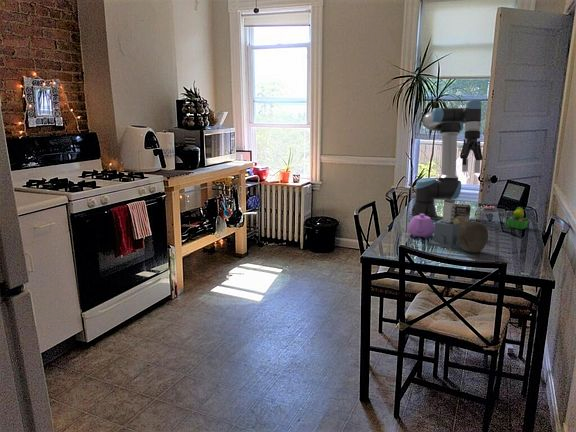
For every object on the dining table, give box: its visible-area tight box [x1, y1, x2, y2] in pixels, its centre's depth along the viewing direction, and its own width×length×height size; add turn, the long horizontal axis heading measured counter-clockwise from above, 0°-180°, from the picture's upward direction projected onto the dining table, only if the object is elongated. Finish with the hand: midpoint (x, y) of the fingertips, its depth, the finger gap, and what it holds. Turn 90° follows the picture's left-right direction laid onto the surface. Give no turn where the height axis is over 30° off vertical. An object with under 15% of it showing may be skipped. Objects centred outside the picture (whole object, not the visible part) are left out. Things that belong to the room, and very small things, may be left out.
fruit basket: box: [504, 206, 530, 230], centre depth 262 cm, size 11×9×11 cm
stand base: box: [427, 218, 460, 250], centre depth 234 cm, size 12×16×13 cm
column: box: [442, 199, 456, 224], centre depth 232 cm, size 5×4×21 cm
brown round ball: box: [458, 220, 489, 254], centre depth 220 cm, size 14×14×15 cm
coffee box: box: [453, 203, 472, 227], centre depth 249 cm, size 9×6×16 cm
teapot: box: [407, 214, 435, 239], centre depth 245 cm, size 20×14×12 cm
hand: (471, 172), depth 237 cm, fingers open, 13 cm apart
